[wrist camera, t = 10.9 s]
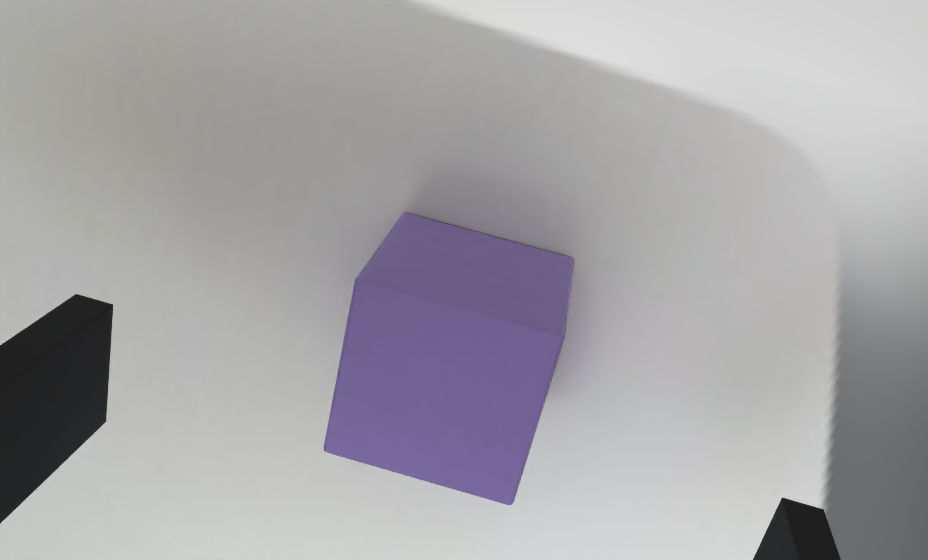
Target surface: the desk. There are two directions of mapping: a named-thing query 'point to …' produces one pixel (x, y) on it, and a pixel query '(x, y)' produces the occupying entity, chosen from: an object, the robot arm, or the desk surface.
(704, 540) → the desk surface
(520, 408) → the lavender cube
